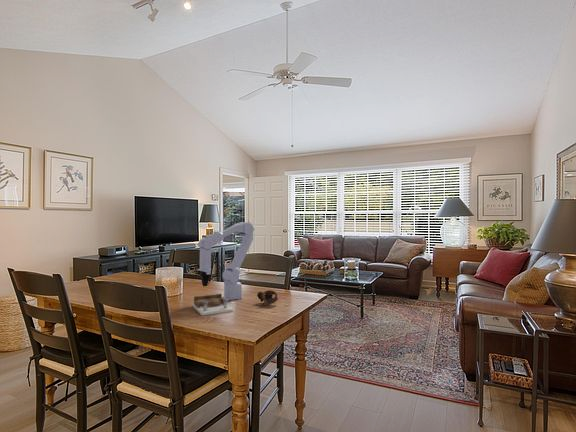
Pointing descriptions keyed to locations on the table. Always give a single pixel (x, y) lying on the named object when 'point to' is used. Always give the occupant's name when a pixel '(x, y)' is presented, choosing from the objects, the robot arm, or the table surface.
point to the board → (213, 308)
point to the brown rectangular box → (208, 300)
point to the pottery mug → (267, 297)
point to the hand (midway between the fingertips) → (204, 285)
